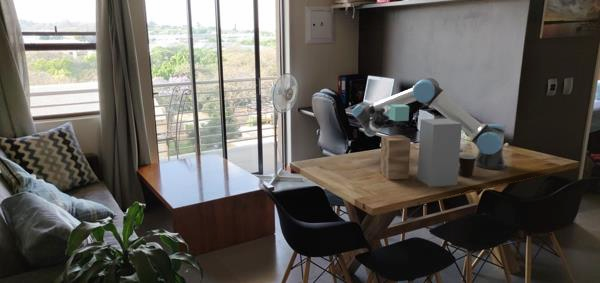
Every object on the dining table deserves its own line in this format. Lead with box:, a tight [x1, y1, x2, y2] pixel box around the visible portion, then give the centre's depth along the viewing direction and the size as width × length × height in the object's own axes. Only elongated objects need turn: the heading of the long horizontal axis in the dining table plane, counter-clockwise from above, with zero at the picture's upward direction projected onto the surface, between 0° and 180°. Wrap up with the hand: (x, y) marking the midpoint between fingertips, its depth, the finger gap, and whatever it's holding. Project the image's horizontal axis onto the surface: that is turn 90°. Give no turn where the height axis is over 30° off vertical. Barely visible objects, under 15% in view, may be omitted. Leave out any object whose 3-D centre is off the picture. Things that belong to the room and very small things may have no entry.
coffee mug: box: [458, 154, 477, 178], centre depth 229 cm, size 12×9×10 cm
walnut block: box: [379, 134, 411, 180], centre depth 227 cm, size 11×11×20 cm
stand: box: [417, 117, 462, 188], centre depth 216 cm, size 14×14×30 cm
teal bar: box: [383, 104, 410, 122], centre depth 225 cm, size 21×7×7 cm, turn 10°
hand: (392, 107), depth 228 cm, fingers closed on teal bar, 4 cm apart
